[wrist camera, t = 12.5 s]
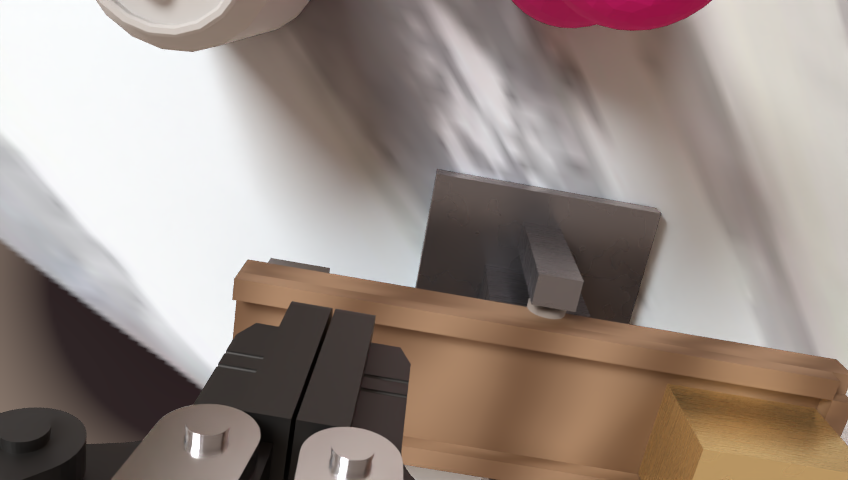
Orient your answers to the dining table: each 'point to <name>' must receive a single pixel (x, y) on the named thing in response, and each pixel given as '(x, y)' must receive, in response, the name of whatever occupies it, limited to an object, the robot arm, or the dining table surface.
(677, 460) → the block
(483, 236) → the pivot stand
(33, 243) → the dining table surface
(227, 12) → the can
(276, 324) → the balance beam
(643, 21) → the pepper mill
